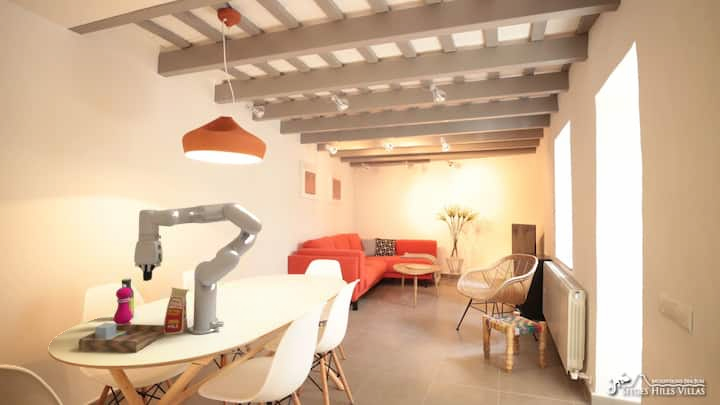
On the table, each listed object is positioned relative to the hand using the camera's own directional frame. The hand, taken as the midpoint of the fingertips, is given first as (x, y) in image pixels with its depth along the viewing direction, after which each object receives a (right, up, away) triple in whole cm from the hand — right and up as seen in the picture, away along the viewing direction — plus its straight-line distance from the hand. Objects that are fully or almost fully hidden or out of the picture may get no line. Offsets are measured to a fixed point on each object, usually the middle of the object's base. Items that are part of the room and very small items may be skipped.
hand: (147, 280), depth 147 cm
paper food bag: (+8, -26, +9) cm, 28 cm away
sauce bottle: (-26, -25, +24) cm, 44 cm away
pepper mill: (-19, -25, +12) cm, 34 cm away
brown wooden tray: (-6, -25, -6) cm, 26 cm away
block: (-14, -23, -6) cm, 27 cm away
